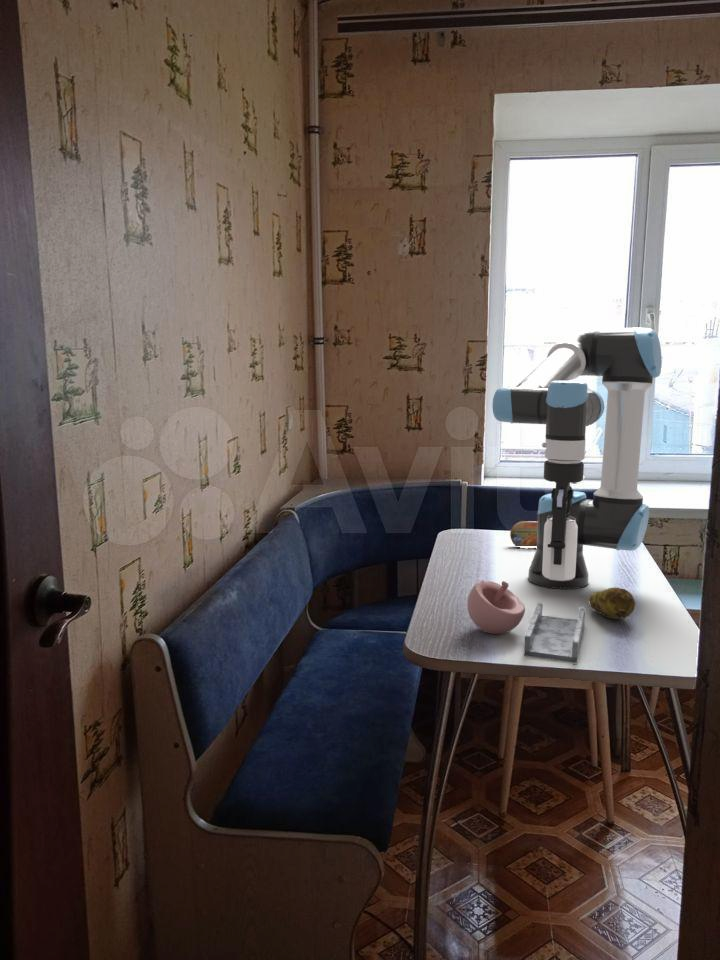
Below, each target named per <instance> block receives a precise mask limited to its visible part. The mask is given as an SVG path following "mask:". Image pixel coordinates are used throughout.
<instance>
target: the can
mask: <svg viewBox="0 0 720 960" xmlns="http://www.w3.org/2000/svg"><path fill="white" fill-rule="evenodd" d="M575 520H576V519H575V518H574V517H570V516H568V517H567V523H566V537H565V544H566V555H565V575H564V581H569V580H572V579H573V578H574V577H575V571H576V554H577V534H578V526H577V524H576V521H575ZM551 534H552V516H548V517H547V521H546V523H545V525H544V540H543V563H542V575H543V576H544V577H545V578H547V579H550V563H551V548H550V547H548V544H550V542H551ZM555 541H558V540H555ZM550 580H551V579H550ZM555 581H561V580H555Z"/></svg>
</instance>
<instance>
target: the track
mask: <svg viewBox="0 0 720 960" xmlns="http://www.w3.org/2000/svg"><path fill="white" fill-rule="evenodd" d="M543 604H544V602H540V601H538V602H537V605H536V606H535V610H534V611H533V614H532V617H531V619H530V621H529V625H528V627H527V629H526V632H525V635H524V646H523V647H524V648H523V656H526V657H532V658H540V659H547V660H548V659H549V660H555V661H562V662H568V663H569V662H571V663H577V662H578V660H579V659H578V658H579V653H580V648H581V643H582V637H583V632H584V627H585V617H586V616H585V615H586V607H584V606H580V607H579V610H578V616H577V619H575V618H567V617H566V618H565V617H558V616H556V617H555V616H547V615H543V607H544V606H543Z"/></svg>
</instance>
